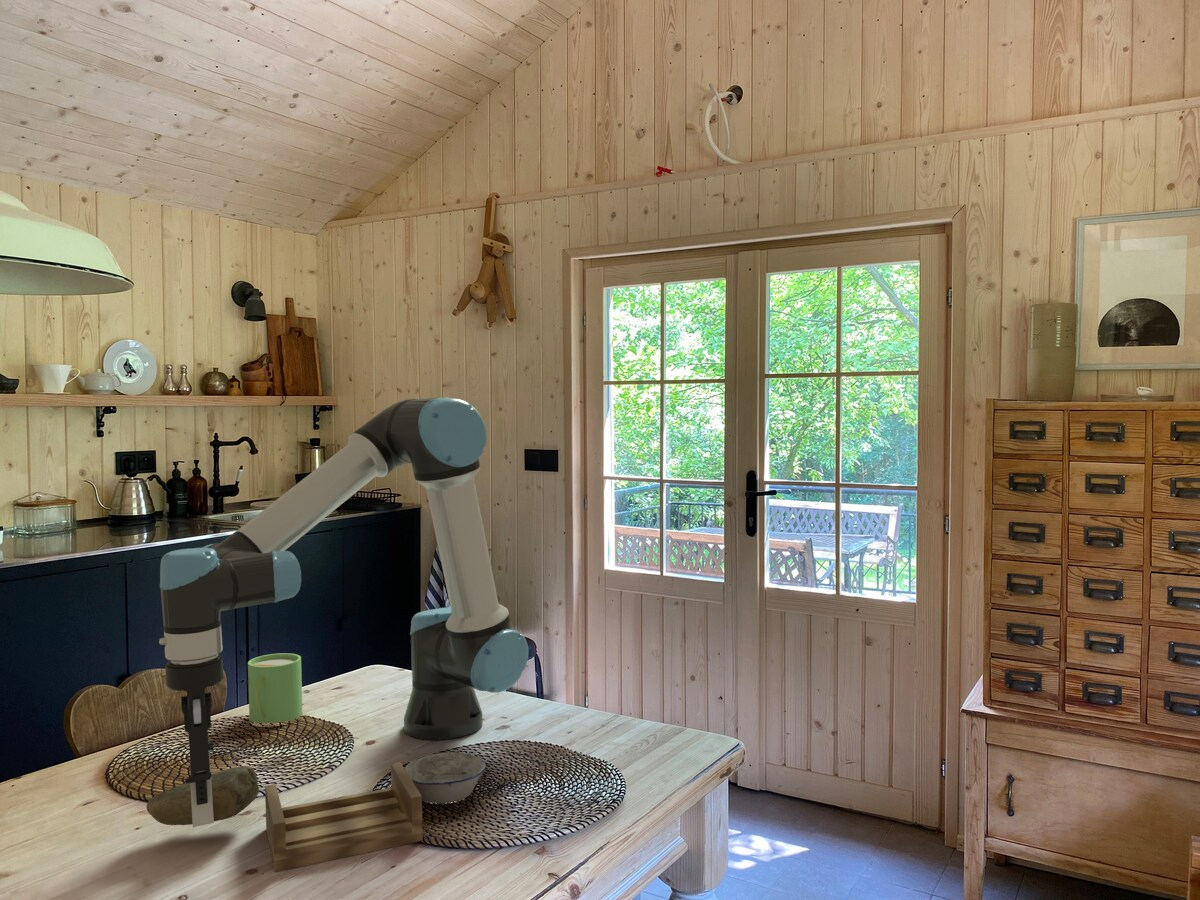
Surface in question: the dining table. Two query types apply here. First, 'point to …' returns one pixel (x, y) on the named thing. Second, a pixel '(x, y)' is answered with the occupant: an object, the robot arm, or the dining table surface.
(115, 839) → the dining table surface
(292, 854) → the rack
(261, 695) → the mug
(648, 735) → the dining table surface
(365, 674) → the dining table surface
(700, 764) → the dining table surface
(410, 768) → the bowl
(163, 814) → the stone
